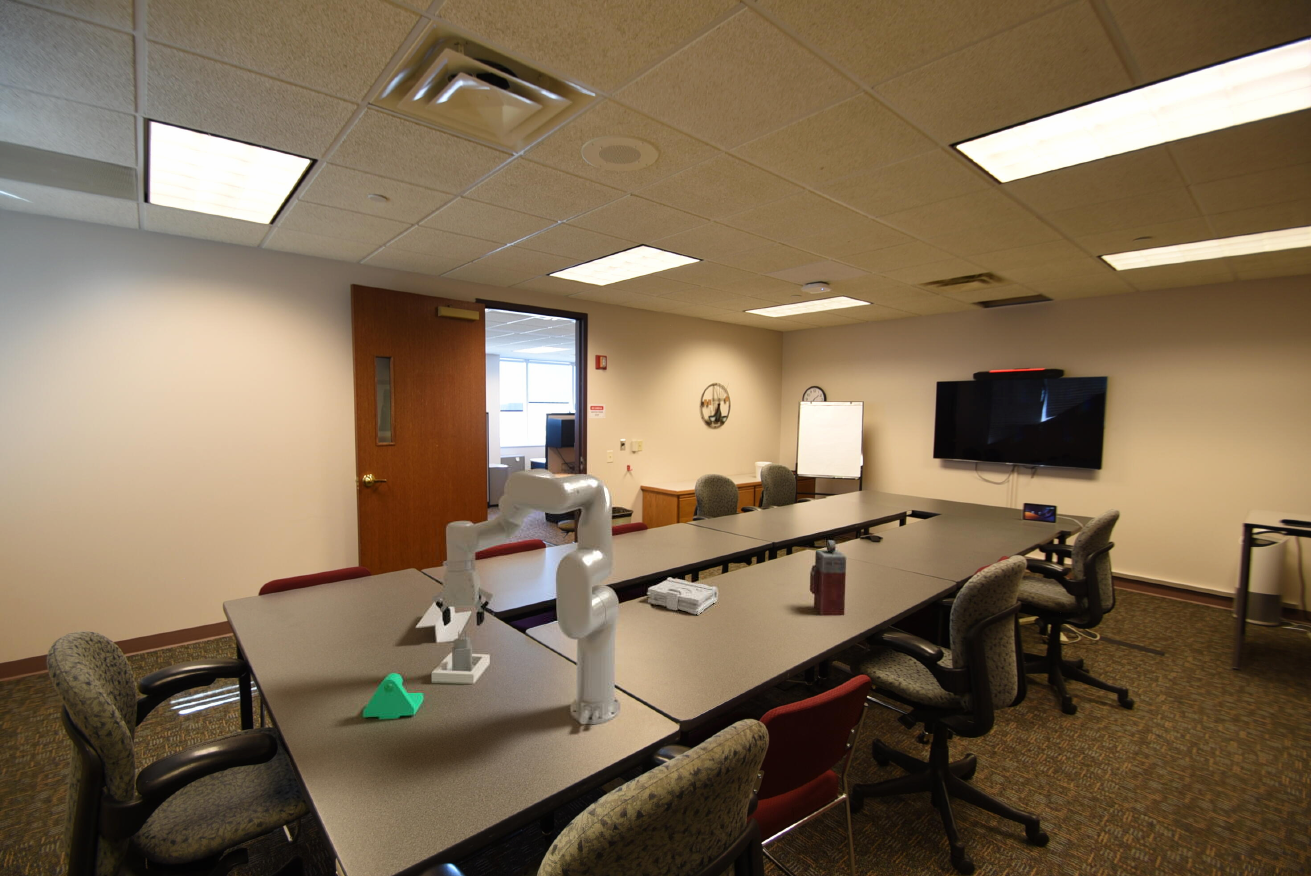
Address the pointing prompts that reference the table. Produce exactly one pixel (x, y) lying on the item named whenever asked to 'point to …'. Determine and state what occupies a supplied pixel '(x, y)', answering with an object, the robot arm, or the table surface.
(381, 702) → the camera mount
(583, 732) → the table surface
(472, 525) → the robot arm
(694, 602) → the book
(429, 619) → the z bracket
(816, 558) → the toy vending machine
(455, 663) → the power adapter
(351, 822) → the table surface
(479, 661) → the tray
